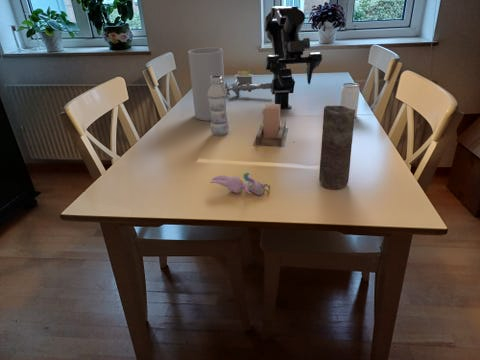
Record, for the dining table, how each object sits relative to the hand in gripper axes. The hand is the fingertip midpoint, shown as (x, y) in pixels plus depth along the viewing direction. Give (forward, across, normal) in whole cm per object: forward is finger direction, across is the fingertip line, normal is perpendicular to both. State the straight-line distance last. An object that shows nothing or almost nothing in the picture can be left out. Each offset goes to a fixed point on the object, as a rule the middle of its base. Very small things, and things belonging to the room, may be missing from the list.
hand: (296, 84), depth 119 cm
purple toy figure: (+37, -24, -24) cm, 50 cm away
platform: (-27, -11, +63) cm, 70 cm away
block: (+16, -10, +2) cm, 19 cm away
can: (+8, +22, +15) cm, 28 cm away
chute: (+18, -10, +2) cm, 20 cm away
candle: (+37, 0, -24) cm, 44 cm away
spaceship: (-14, -16, +44) cm, 49 cm away
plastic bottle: (+14, -27, +7) cm, 31 cm away
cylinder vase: (+1, -30, +24) cm, 38 cm away
